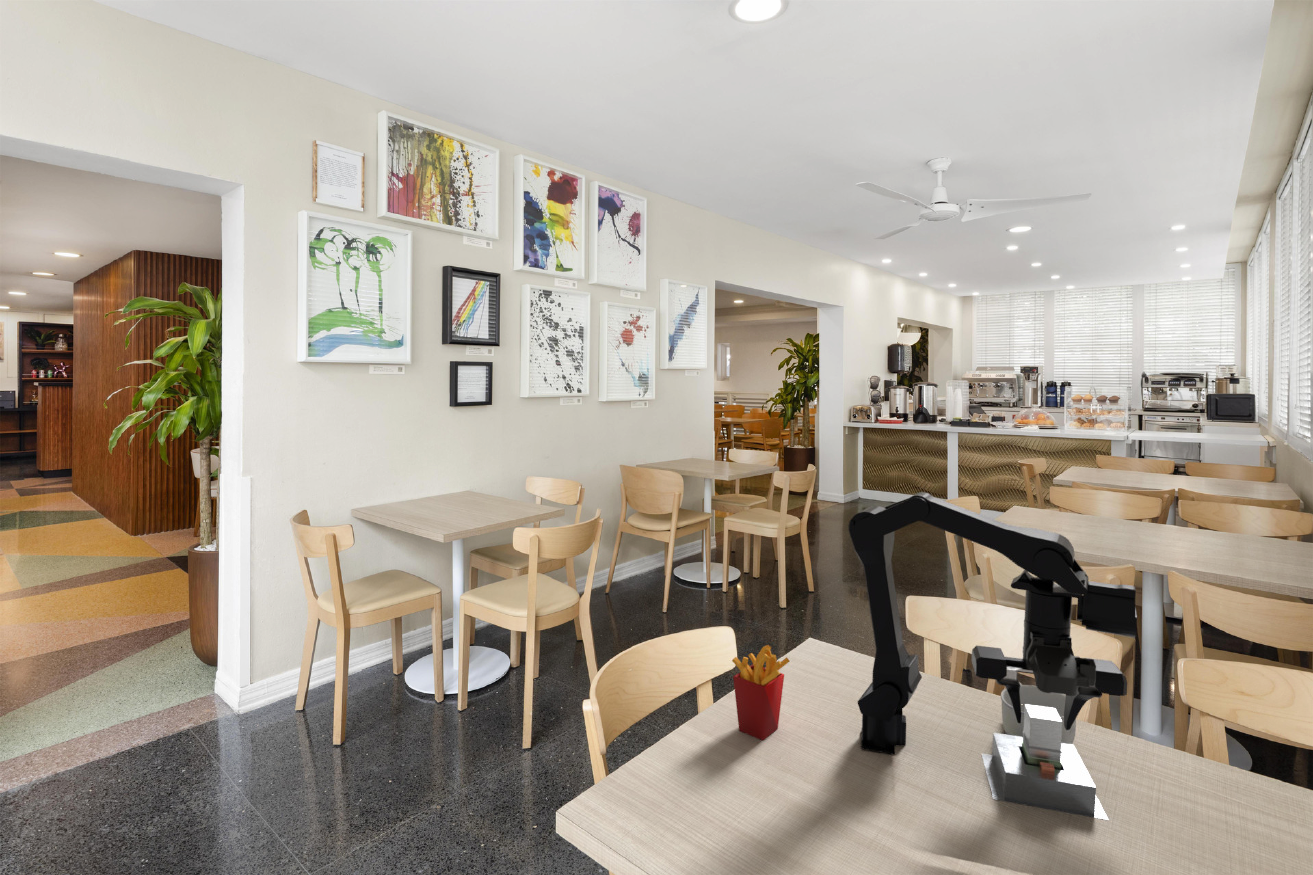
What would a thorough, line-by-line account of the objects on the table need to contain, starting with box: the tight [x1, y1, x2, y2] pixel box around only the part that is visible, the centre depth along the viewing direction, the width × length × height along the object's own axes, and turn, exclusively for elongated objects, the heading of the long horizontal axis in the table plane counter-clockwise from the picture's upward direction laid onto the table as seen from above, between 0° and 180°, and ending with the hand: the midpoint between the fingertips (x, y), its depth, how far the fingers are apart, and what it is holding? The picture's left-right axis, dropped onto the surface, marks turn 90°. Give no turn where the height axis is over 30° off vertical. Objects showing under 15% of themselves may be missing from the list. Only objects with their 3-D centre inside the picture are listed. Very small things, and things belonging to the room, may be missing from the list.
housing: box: [980, 732, 1109, 821], centre depth 96 cm, size 14×12×6 cm
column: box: [1022, 704, 1062, 769], centre depth 95 cm, size 4×4×7 cm
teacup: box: [1000, 681, 1077, 745], centre depth 109 cm, size 14×11×8 cm
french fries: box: [731, 644, 790, 741], centre depth 112 cm, size 9×8×15 cm
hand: (1042, 725), depth 95 cm, fingers open, 6 cm apart
